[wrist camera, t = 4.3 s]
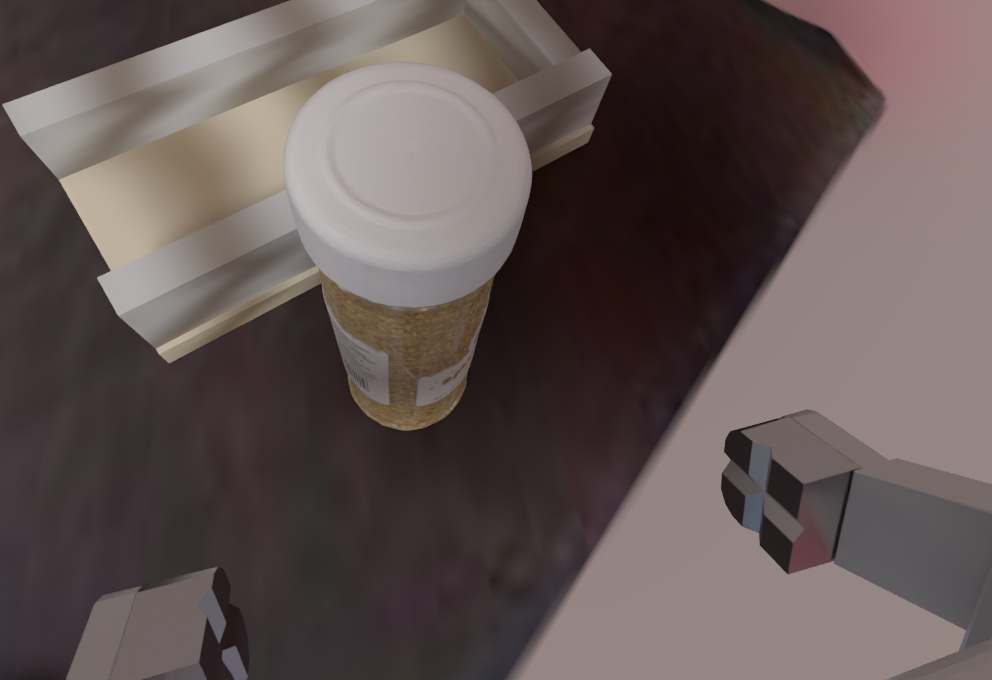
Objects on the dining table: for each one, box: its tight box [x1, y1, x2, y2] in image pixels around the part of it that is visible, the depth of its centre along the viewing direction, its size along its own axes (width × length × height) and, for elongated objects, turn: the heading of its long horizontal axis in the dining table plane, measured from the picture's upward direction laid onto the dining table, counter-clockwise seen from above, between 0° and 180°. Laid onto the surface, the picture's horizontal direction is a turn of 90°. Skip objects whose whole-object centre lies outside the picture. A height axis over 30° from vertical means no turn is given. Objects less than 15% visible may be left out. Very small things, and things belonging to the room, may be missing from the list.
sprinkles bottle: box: [283, 62, 532, 431], centre depth 17 cm, size 5×5×13 cm
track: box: [2, 0, 612, 363], centre depth 24 cm, size 20×10×4 cm, turn 125°
